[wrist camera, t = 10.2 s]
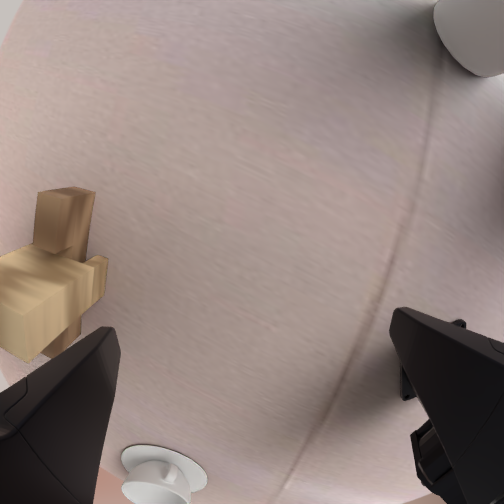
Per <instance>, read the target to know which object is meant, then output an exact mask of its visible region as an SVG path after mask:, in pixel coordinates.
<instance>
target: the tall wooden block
mask: <svg viewBox="0 0 504 504" xmlns="http://www.w3.org/2000/svg"><path fill="white" fill-rule="evenodd" d="M107 265H108V258H105V257H102V256H99V255H96V256H94V257H93V258H91V259H89V260H87V261H86V262H84V263H80V262H77V261H75V260H72V259H69V258H66V257H64V256H61V255H59V254H54V253H51V252H49V251H46V250H44V249H41V248H38V247H36V246H34V245H33V243H32V244H29V245H27V246H24V247H22V248H20V249H17V250H15V251H12V252H10V253H7V254H5V255H3V256H0V347H1V348H3V349H5V350H6V351H8V352H9V353H11V354H13V355H14V356H16V357H18V358H19V359H21V360H23V361H25V362H26V363H30V362H31V361H32V360H33V359H34V358H35V357H36V356H37V355H38V354H39V353H40V352H41V351H42V350H43V349H44V348H45V347H46V346H48V345H49V344H50V343H51V342H52V341H53V340H54V339H55V338H56V337H57V336H58V335H59V334H61V333H62V332H63V331H64V330H65V329H66V328H67V327H68V326H69V325H71V324H72V323H73V322H74V321H75V320H76V319H77V318H78V317H79V316H81V315H82V314H83V313H84V312H85V311H86V310H87V309H89V308H90V307H91V306H92V305H93V304H94V303H95V302H97V301H98V300H99V299H100V298H101V297H102V296H104V292H105V282H106V273H107Z"/></svg>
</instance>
